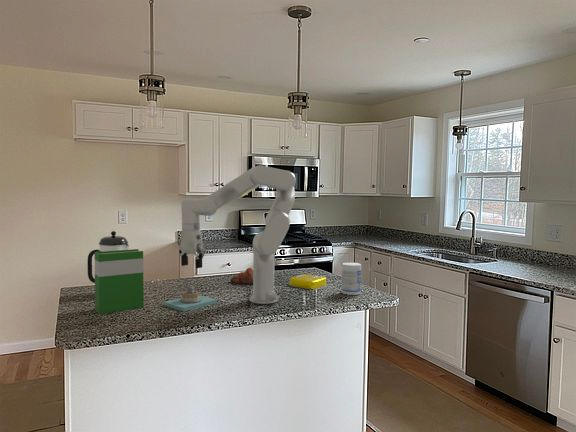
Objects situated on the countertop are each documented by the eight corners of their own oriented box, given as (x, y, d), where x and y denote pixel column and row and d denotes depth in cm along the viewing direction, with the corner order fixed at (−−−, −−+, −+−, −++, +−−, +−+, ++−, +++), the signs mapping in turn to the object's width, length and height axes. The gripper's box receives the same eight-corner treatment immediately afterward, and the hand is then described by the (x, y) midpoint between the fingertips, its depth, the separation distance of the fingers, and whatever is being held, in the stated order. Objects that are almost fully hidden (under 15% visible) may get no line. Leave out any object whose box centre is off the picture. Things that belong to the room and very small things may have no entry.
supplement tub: (361, 296, 213) (362, 265, 213) (341, 295, 214) (342, 265, 213) (360, 291, 223) (360, 262, 222) (341, 290, 224) (341, 261, 223)
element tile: (304, 281, 246) (304, 272, 246) (327, 285, 238) (327, 276, 237) (288, 286, 234) (288, 277, 234) (311, 290, 226) (312, 281, 225)
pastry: (252, 278, 252) (252, 264, 251) (271, 282, 241) (272, 268, 241) (229, 282, 239) (229, 268, 239) (248, 287, 229) (248, 272, 228)
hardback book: (138, 303, 194) (137, 249, 192) (143, 307, 188) (143, 251, 186) (95, 309, 184) (94, 252, 182) (99, 313, 178) (98, 254, 176)
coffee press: (124, 288, 221) (124, 228, 219) (134, 295, 208) (134, 231, 206) (87, 293, 211) (86, 230, 209) (95, 300, 198) (94, 233, 196)
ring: (201, 299, 194) (201, 292, 194) (189, 302, 189) (189, 295, 189) (191, 296, 199) (191, 290, 199) (178, 299, 193) (178, 292, 193)
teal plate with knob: (216, 303, 197) (216, 285, 196) (183, 311, 183) (183, 292, 182) (196, 297, 205) (196, 280, 205) (163, 305, 191) (163, 287, 191)
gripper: (210, 228, 189) (211, 267, 190) (185, 225, 200) (186, 263, 201) (196, 229, 183) (197, 270, 185) (171, 227, 194) (172, 265, 196)
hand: (191, 266), depth 193 cm, fingers open, 9 cm apart
